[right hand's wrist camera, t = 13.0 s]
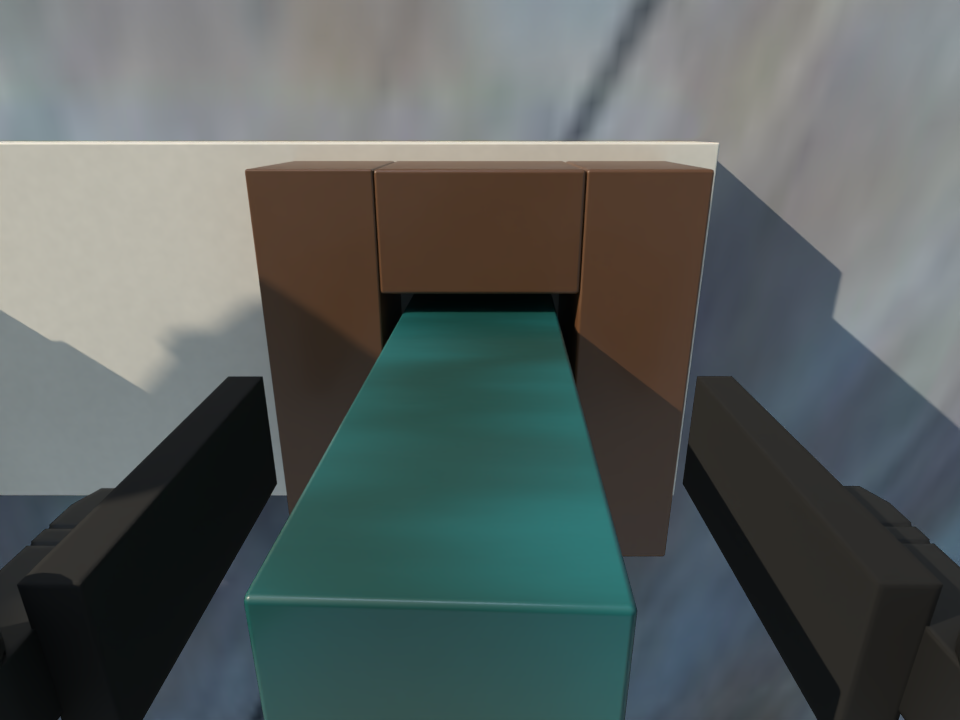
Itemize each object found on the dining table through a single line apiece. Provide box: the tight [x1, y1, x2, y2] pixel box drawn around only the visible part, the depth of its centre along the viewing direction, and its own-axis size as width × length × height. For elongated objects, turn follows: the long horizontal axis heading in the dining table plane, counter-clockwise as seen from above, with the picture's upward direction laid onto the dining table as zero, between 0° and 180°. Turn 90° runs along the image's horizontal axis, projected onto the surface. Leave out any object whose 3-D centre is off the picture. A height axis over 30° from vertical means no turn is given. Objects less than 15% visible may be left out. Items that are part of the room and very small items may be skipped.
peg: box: [244, 294, 637, 720], centre depth 13 cm, size 4×4×14 cm
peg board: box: [0, 142, 719, 556], centre depth 15 cm, size 30×12×14 cm, turn 90°
